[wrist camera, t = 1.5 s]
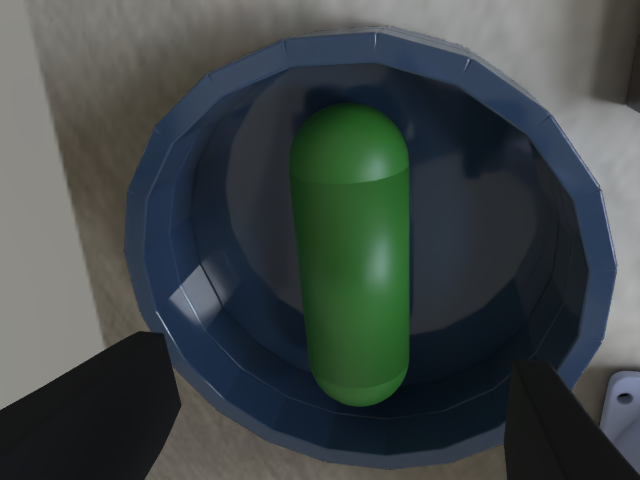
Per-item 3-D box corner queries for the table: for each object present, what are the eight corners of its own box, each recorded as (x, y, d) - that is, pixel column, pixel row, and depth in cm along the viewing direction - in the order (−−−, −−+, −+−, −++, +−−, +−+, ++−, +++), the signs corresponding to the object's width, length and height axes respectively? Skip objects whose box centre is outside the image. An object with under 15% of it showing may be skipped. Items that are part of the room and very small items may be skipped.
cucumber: (411, 365, 20) (406, 435, 17) (323, 358, 21) (302, 424, 17) (412, 90, 15) (405, 113, 12) (299, 95, 16) (265, 118, 13)
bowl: (550, 406, 20) (574, 493, 16) (214, 376, 23) (174, 444, 19) (610, 8, 14) (670, 10, 10) (145, 43, 17) (69, 53, 13)
